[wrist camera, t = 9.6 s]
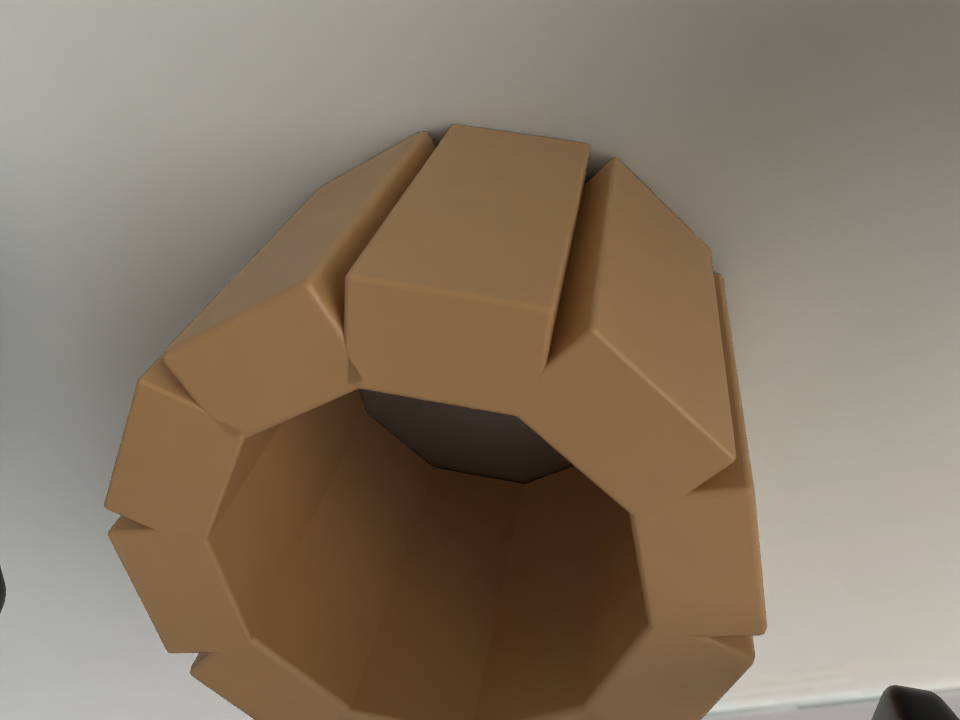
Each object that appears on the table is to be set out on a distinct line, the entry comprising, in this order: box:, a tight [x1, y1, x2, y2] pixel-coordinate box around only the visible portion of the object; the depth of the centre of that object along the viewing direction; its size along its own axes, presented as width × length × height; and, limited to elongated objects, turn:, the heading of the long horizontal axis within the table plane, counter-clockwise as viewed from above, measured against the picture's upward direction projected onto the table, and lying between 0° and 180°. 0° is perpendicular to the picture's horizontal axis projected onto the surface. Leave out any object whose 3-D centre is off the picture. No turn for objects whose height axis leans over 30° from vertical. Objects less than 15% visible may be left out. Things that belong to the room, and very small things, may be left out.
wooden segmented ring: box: [104, 124, 767, 720], centre depth 12 cm, size 7×7×5 cm
